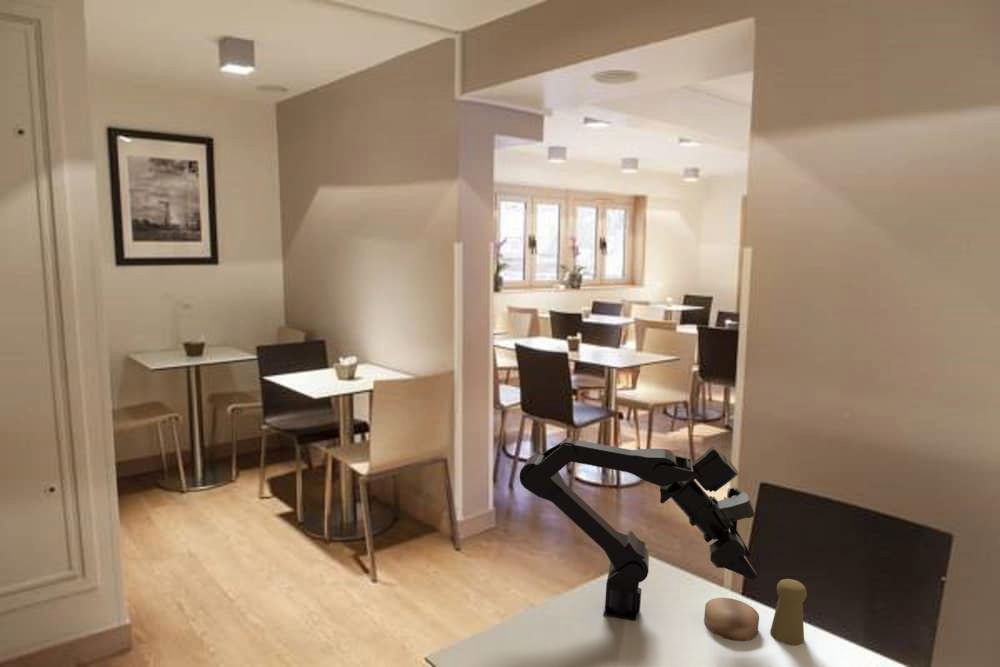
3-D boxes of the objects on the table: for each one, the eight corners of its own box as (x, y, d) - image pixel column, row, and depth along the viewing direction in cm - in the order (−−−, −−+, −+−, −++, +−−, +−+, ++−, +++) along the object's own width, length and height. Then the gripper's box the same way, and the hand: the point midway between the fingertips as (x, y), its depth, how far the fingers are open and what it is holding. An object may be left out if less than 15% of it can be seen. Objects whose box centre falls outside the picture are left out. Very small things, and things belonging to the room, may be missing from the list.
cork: (807, 647, 122) (813, 593, 121) (773, 643, 124) (779, 588, 122) (799, 629, 128) (805, 576, 127) (767, 624, 130) (772, 572, 128)
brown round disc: (704, 634, 125) (705, 620, 125) (703, 607, 135) (704, 594, 135) (760, 645, 123) (761, 630, 122) (755, 616, 132) (756, 603, 132)
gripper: (735, 498, 116) (796, 565, 115) (725, 464, 134) (778, 522, 133) (686, 534, 119) (745, 600, 118) (682, 496, 137) (733, 553, 136)
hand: (752, 566), depth 126 cm, fingers open, 9 cm apart
